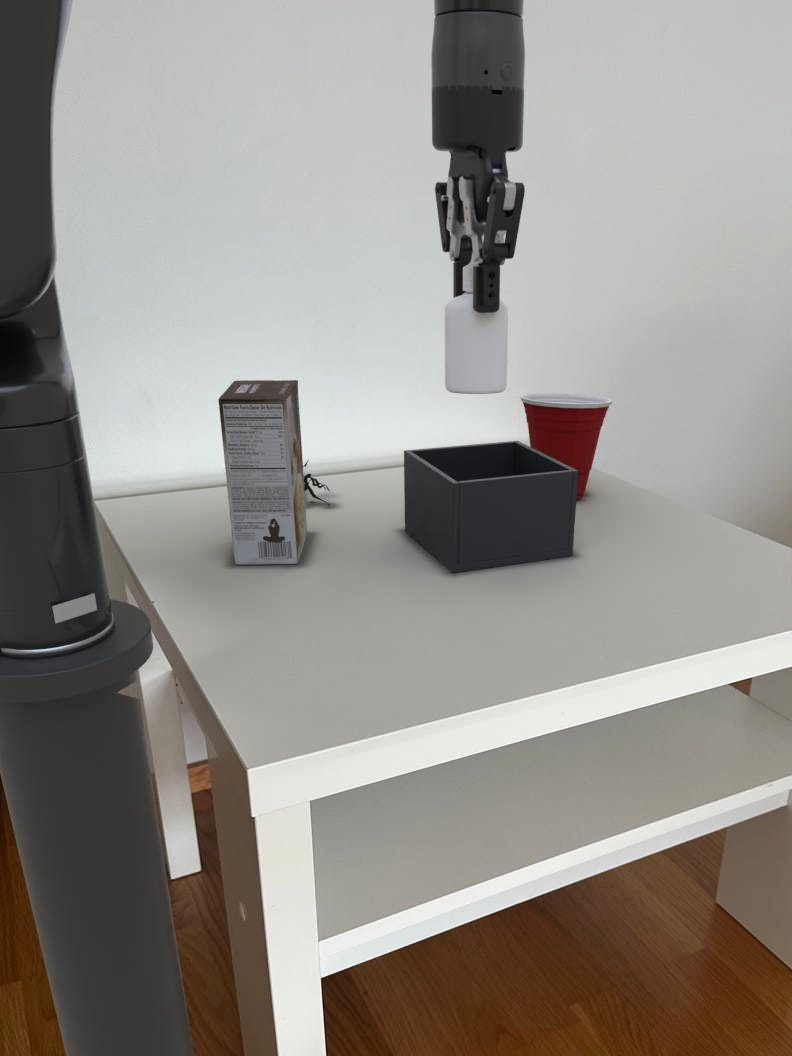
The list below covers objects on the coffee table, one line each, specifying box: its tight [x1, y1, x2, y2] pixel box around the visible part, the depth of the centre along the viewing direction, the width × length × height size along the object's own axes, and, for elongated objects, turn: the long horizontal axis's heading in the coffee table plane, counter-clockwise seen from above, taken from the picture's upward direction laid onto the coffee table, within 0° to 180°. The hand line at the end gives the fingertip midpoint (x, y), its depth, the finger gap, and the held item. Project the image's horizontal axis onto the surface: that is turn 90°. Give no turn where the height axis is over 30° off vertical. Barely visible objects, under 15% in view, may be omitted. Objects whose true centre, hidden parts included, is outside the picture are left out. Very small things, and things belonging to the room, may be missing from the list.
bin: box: [403, 440, 578, 574], centre depth 96 cm, size 13×13×9 cm
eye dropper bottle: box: [444, 252, 509, 395], centre depth 84 cm, size 4×6×12 cm
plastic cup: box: [519, 392, 613, 501], centre depth 112 cm, size 11×11×12 cm
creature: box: [303, 459, 331, 506], centre depth 108 cm, size 8×5×8 cm
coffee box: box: [218, 379, 308, 566], centre depth 91 cm, size 9×6×16 cm
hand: (476, 308), depth 83 cm, fingers closed on eye dropper bottle, 4 cm apart
